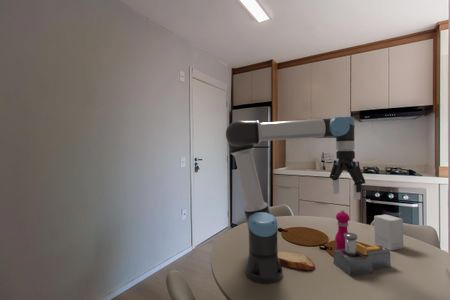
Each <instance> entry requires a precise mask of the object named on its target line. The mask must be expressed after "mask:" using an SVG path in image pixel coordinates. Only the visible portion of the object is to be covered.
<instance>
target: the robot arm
mask: <svg viewBox="0 0 450 300" xmlns="http://www.w3.org/2000/svg"><path fill="white" fill-rule="evenodd" d="M355 127H356V126H355V119H354V117H352V116H334V117H330V118H316V119H315V118H314V119H301V120H286V121H285V120H282V121H271V122H270V121H269V122H266V121H265V122H260V121H259V120H235V121H233V122H231V123H230V124H229V125H228V126H227V128H226V130H225V138H226V141H227V143H228V149H229V153H230V155H232V156H234V160H235V164H236V168H237V173H238V176H239V181H240V186H241V190H242V194H243V197H244V201H245V206H244V209H243V211H244V217H245V220H246V224H247V231H248V256H247V259H246V263H245V266H244V270H245V272H244V273H245V276H246V277H247V278H248V279H249V280H252V281H253V282H255V283H258V284H273V283H274V284H275V283H277V282H279V281H280V280H281V279H282V278H283V268H282V267H283V266H282V265H281V264H280V261H279V258H278V252H279V251H278V229H279V228H278V226H279V224H278V219H277V218H276V217H275V215H273V214H271V212H270V208H269V204H268V203H267V202H266V201H264V196H263V193H262V192H263V191H262V188H261V184H260V179H259V175H258V171H257V167H256V162H255V158H254V154H253V152H254V150H255V145H257V144H258V145H259V144H260V143H262V142H266V141H283V140H297V139H298V140H299V139H332V138H333V139H334V138H335V150H337V151H336V153H335V154H336V159H337V160H336V159H335V160H333V163H332V164H333V165H332V167H331V171H330V174H329V178H330V179H331V180H332V192H333V193H332V194H334V195H335V194H336V195H337V194H340V179H339V178H340V176H341V175H342V173H343V172H344V171H346V172H347V173H349V175H350V177H351V179H352V182H354V183H353V200H355V201H357V200H361V196H362V195H361V192H362V185H363V184H366V180H365V178H364V177H365V176H364V174H363V172H362V169H361V167H360V161H359V160H358V161H354V159H356V158H355V157H356V152H355V148H356V147H355Z"/></svg>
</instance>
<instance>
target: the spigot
mask: <svg viewBox="0 0 450 300" xmlns="http://www.w3.org/2000/svg"><path fill="white" fill-rule="evenodd" d="M344 237H345V249H346V255H347V256H349V257H350V258H354V257H356V243H357V240H358V235H357V233H353V232H348V233H344Z"/></svg>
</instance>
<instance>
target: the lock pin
mask: <svg viewBox="0 0 450 300" xmlns="http://www.w3.org/2000/svg"><path fill="white" fill-rule="evenodd" d="M377 246H378V245H375V246H374V247H373V246H365V245H363V244H361V243H359V242H356V250H357V251H358V252H360V253H362V254H363V255H367V251H376V250H380V248H379V247H377Z"/></svg>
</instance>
